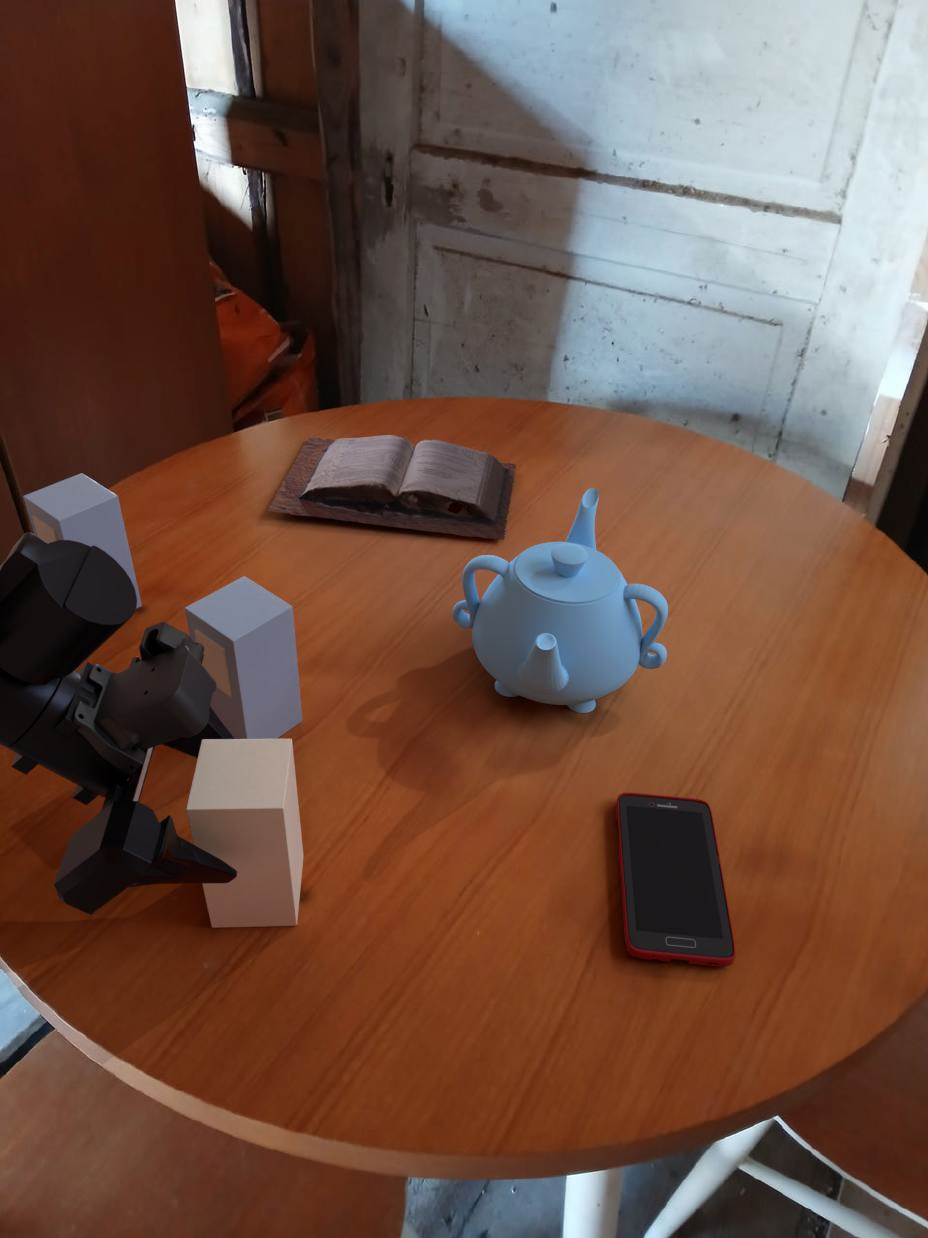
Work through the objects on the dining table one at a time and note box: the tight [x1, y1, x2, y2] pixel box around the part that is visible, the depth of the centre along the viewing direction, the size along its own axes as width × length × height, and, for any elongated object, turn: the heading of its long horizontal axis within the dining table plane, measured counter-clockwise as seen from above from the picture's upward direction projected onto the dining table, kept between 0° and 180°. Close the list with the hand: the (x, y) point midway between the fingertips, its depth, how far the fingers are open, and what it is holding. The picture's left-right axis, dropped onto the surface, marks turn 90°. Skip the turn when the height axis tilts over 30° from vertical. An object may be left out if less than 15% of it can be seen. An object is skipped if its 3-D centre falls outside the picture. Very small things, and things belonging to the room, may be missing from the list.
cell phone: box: [615, 792, 737, 967], centre depth 69 cm, size 8×15×1 cm, turn 176°
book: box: [267, 434, 517, 541], centre depth 111 cm, size 20×28×4 cm
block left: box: [22, 472, 143, 610], centre depth 87 cm, size 6×6×13 cm
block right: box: [184, 575, 303, 739], centre depth 76 cm, size 6×6×13 cm
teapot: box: [451, 487, 669, 714], centre depth 83 cm, size 16×20×14 cm
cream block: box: [185, 738, 304, 929], centre depth 63 cm, size 6×6×13 cm
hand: (242, 820), depth 62 cm, fingers open, 9 cm apart
